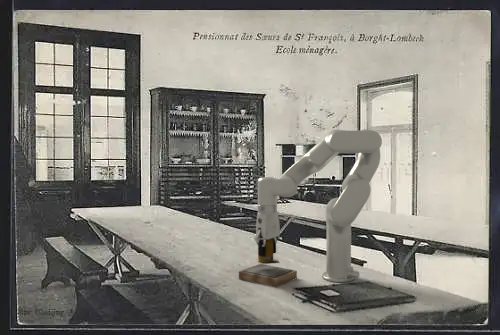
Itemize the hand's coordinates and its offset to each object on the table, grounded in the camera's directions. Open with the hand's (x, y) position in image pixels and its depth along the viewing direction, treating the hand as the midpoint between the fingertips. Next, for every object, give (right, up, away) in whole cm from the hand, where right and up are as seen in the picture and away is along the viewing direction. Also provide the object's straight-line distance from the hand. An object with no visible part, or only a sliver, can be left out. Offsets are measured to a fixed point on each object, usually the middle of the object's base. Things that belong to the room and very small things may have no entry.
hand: (267, 253), depth 219 cm
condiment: (0, -3, +1) cm, 3 cm away
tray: (0, -10, +1) cm, 10 cm away
